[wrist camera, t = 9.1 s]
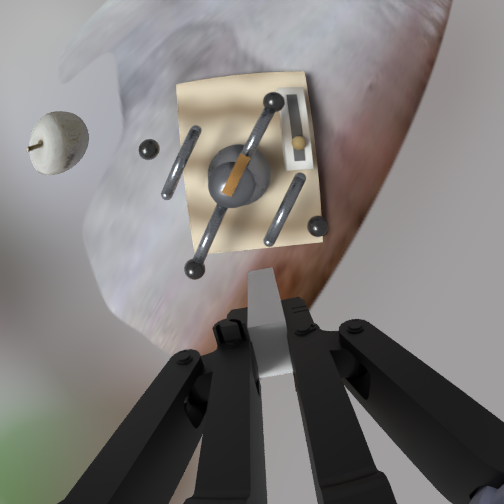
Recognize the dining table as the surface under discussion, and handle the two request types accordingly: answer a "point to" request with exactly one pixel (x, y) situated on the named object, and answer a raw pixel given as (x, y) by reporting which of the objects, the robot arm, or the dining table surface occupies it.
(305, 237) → the stand
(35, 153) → the decorative object
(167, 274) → the dining table surface
